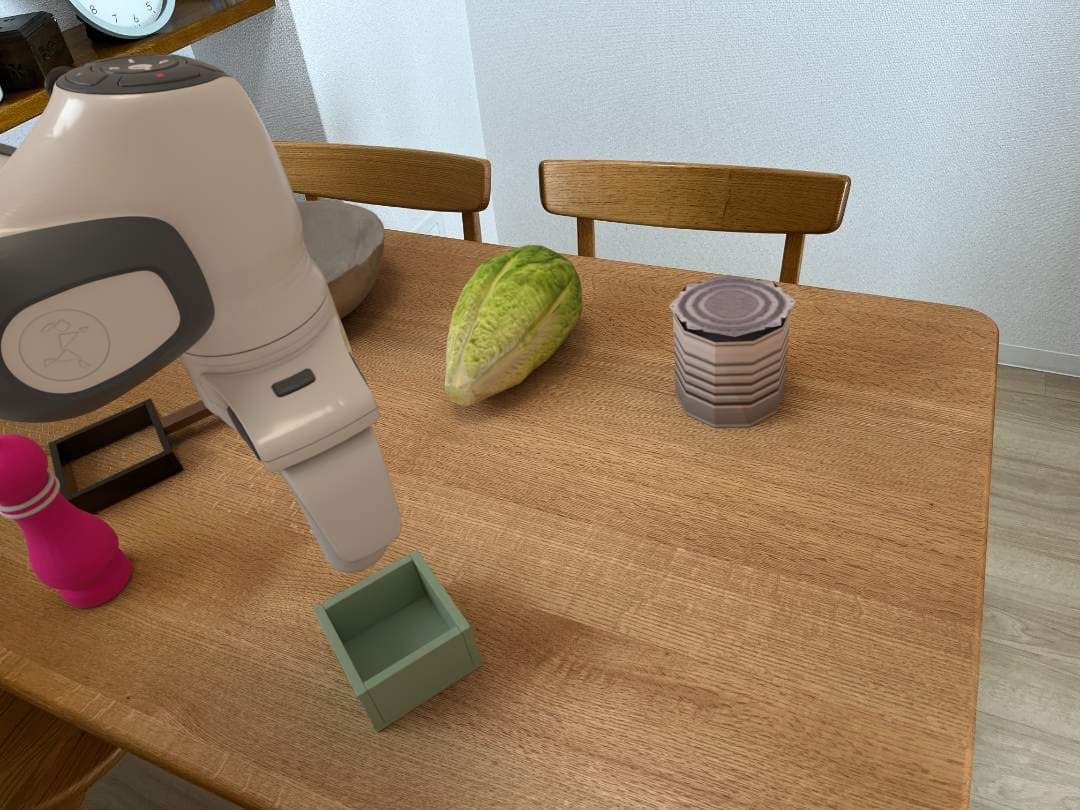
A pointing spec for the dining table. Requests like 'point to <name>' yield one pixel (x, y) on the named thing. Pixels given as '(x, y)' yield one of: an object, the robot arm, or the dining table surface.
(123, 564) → the pepper mill
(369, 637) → the bin
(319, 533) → the beverage can
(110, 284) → the robot arm
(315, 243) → the bowl
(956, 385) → the dining table surface
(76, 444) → the handled rectangular frame
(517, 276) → the lettuce
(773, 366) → the can
